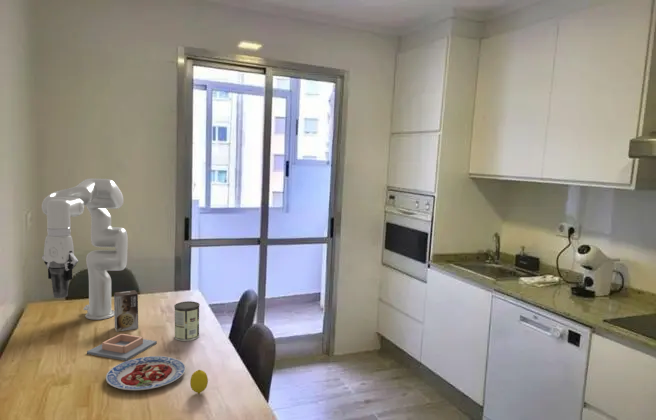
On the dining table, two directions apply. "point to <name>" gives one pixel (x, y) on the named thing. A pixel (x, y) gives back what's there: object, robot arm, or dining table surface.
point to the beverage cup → (58, 280)
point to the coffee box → (126, 310)
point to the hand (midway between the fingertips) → (60, 278)
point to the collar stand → (122, 347)
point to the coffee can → (186, 321)
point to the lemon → (199, 381)
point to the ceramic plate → (145, 373)
